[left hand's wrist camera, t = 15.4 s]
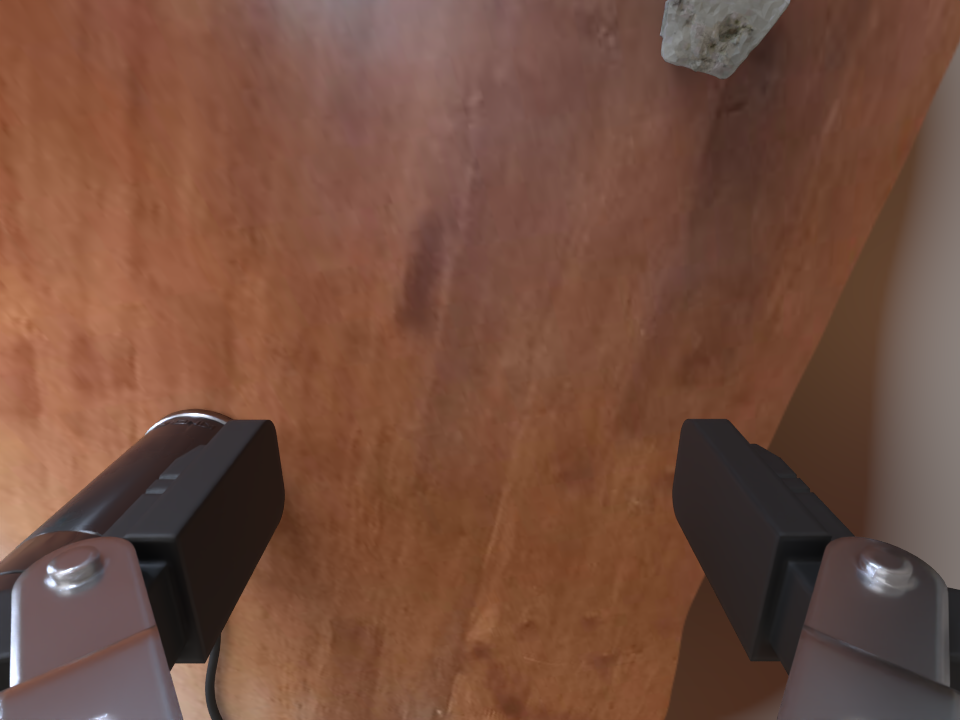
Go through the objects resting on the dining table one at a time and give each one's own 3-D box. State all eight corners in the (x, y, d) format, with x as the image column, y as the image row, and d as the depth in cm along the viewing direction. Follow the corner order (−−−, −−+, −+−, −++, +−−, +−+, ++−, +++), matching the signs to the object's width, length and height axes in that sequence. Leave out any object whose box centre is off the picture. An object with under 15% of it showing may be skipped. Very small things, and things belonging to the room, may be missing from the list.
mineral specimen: (625, -71, 31) (710, -136, 24) (755, -30, 33) (870, -78, 26) (593, 75, 33) (663, 57, 26) (717, 104, 36) (813, 95, 28)
